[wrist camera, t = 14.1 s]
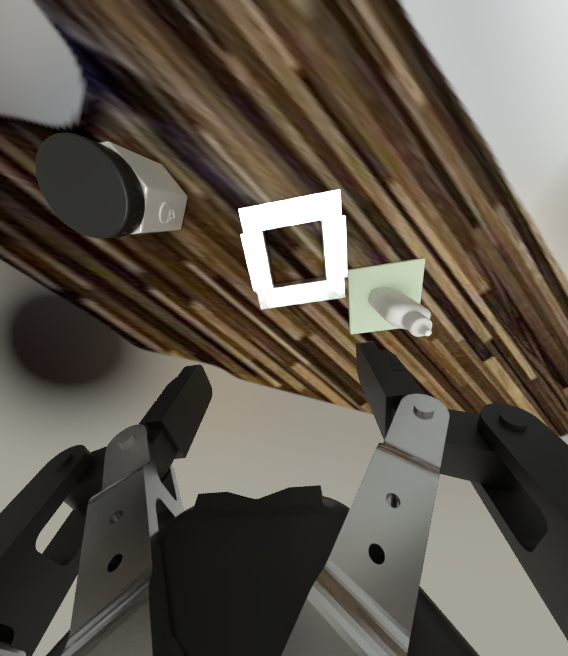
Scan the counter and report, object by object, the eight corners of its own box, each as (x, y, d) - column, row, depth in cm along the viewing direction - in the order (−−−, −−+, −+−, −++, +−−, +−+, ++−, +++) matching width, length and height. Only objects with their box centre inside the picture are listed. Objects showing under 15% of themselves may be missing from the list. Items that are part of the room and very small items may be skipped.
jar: (179, 245, 33) (124, 257, 22) (124, 220, 32) (37, 220, 21) (193, 179, 29) (135, 155, 18) (131, 149, 28) (29, 104, 17)
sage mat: (347, 269, 33) (348, 270, 33) (422, 257, 32) (425, 258, 32) (349, 332, 38) (350, 334, 38) (415, 324, 37) (417, 326, 36)
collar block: (238, 210, 30) (234, 209, 28) (340, 190, 29) (344, 188, 27) (259, 304, 36) (257, 309, 34) (344, 292, 35) (348, 296, 33)
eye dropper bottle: (387, 318, 36) (427, 359, 25) (363, 298, 35) (394, 333, 24) (409, 298, 34) (461, 333, 24) (384, 276, 33) (428, 303, 22)
